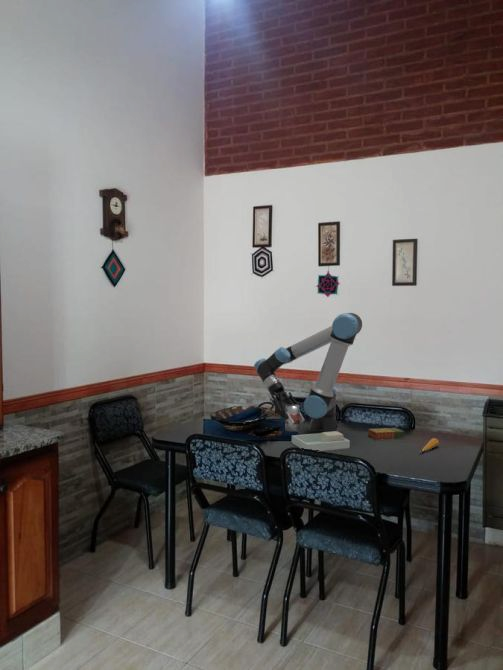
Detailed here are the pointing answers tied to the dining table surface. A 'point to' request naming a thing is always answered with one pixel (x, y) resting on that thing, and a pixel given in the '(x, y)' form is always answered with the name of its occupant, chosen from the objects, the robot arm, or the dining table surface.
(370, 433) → the carton
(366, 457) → the dining table surface
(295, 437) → the tote
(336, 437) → the beige rectangular block
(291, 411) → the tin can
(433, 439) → the carrot
